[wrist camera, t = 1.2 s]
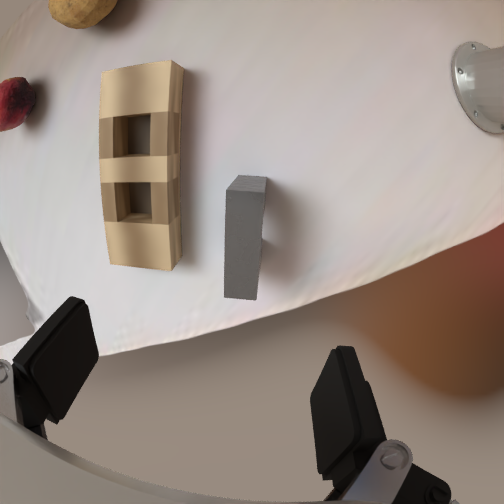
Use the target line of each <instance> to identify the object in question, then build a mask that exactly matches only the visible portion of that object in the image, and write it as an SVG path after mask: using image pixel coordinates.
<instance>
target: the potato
mask: <svg viewBox="0 0 504 504" xmlns="http://www.w3.org/2000/svg"><path fill="white" fill-rule="evenodd" d="M116 3H117V0H49V6H48V7H49V10H50V13H51V15H52V18H54V19H55V20H57V21H58V22H60V23H61V24H63V25H65V26H67V27H69V28H74V29H83V28H88V27H91V26H93V25H96V24H97V23H98V22H99V21H100V20H102V19H103V18H104V17H105V16H106V15H108V14H109V13H110V12H111V11H112V9H113V8H114V7H115V5H116Z"/></svg>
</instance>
